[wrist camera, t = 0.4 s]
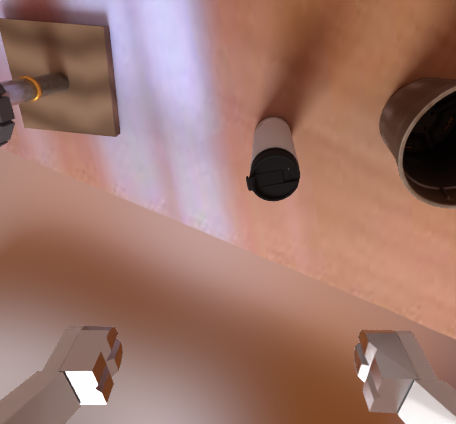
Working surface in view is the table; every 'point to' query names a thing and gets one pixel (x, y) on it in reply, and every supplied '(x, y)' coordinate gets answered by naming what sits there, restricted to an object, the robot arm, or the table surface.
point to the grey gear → (5, 117)
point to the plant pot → (424, 139)
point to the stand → (71, 67)
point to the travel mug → (273, 161)
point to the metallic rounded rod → (34, 87)
